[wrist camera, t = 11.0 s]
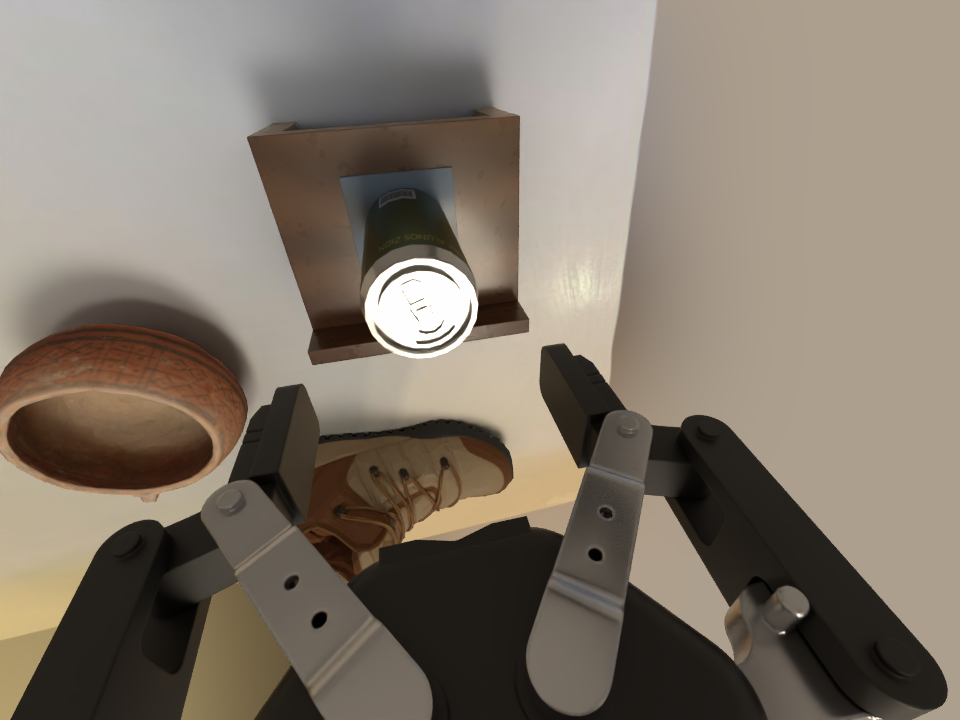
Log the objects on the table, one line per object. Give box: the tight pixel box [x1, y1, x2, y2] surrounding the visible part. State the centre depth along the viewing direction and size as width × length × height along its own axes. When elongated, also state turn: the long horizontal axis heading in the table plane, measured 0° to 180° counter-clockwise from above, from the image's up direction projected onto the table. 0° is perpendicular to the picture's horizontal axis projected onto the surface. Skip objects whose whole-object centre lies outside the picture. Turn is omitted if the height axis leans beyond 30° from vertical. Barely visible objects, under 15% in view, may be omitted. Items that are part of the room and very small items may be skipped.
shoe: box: [296, 420, 514, 582], centre depth 44 cm, size 10×27×15 cm, turn 81°
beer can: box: [360, 188, 478, 358], centre depth 22 cm, size 5×5×12 cm
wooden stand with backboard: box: [247, 108, 529, 365], centre depth 30 cm, size 14×16×10 cm
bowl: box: [0, 324, 248, 502], centre depth 33 cm, size 16×16×10 cm
